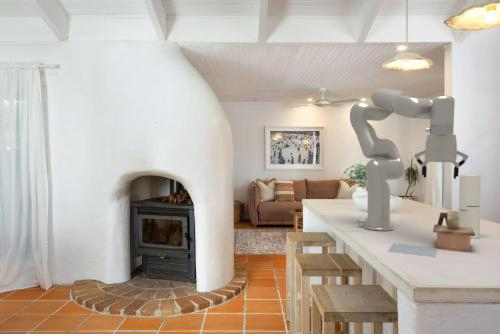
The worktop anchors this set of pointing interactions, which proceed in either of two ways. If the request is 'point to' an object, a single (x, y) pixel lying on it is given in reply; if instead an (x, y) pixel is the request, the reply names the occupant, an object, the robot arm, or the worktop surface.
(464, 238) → the terracotta bowl
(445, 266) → the worktop surface
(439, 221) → the portable electronic device stand
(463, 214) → the cylindrical container
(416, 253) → the slate mat
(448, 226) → the square wooden lid
